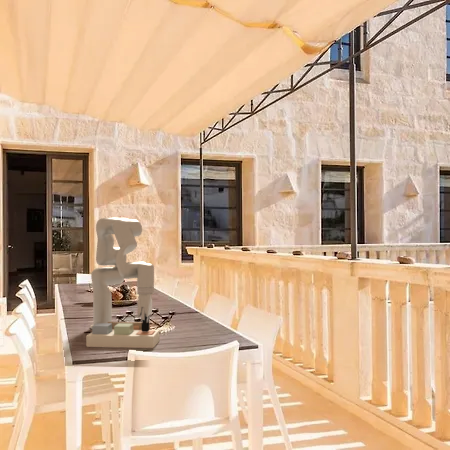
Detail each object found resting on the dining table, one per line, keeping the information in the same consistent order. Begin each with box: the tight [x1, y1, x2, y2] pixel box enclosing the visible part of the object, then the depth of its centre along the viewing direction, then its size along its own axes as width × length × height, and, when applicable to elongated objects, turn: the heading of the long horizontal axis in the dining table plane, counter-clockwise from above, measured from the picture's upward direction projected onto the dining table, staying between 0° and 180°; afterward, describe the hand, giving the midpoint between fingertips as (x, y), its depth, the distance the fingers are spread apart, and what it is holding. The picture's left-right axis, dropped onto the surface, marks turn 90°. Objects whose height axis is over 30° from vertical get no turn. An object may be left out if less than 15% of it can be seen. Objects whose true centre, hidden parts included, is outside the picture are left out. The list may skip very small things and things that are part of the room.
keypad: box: [85, 321, 161, 349], centre depth 232 cm, size 30×17×8 cm, turn 86°
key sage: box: [114, 323, 133, 335], centre depth 231 cm, size 7×7×4 cm
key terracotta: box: [136, 330, 155, 335], centre depth 230 cm, size 7×7×4 cm
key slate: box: [91, 323, 112, 334], centre depth 232 cm, size 7×7×4 cm
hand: (145, 331), depth 231 cm, fingers closed
